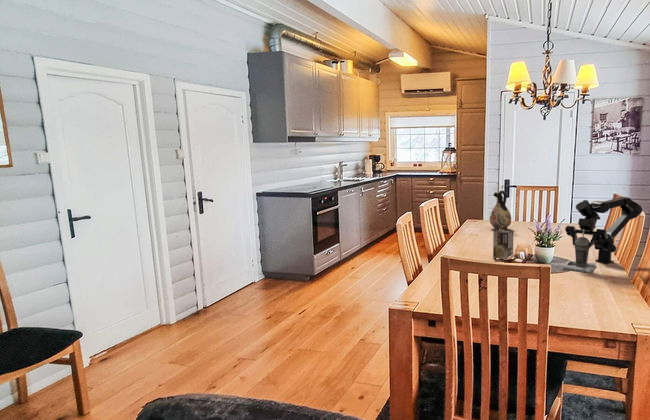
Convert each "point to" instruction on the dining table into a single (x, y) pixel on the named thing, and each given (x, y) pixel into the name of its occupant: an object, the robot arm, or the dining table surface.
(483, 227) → the dining table surface
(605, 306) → the dining table surface
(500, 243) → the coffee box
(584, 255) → the beverage cup
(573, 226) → the robot arm
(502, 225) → the ceramic jug
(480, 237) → the dining table surface
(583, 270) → the flared docking tray
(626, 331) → the dining table surface
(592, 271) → the gray raised edge tray
